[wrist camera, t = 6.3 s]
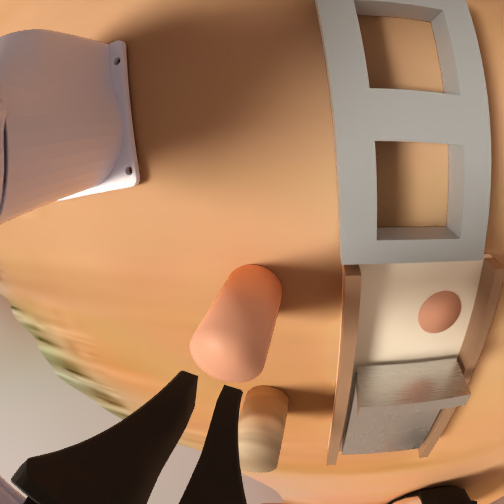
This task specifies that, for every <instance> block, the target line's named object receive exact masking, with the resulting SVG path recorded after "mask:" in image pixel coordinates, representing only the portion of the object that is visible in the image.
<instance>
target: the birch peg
mask: <svg viewBox="0 0 504 504" xmlns="http://www.w3.org/2000/svg"><path fill="white" fill-rule="evenodd" d="M288 406H289V398H288V396H287V395H286V394H285V393H284V392H283V391H282V390H280V389H278V388H275V387H271V386H257V387H254V388H252V389H250V390H249V391H248V393H247V395H246V398H245V401H244V405H243V408H242V411H241V414H240V417H239V420H238V446H239V459H240V469H243V470H246V471H250V472H259V473H262V472H270V471H273V470H274V469H276V467H277V464H278V459H279V454H280V449H281V444H282V439H283V433H284V428H285V423H286V417H287V411H288Z"/></svg>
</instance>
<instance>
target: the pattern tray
mask: <svg viewBox="0 0 504 504" xmlns="http://www.w3.org/2000/svg"><path fill="white" fill-rule="evenodd" d="M503 280H504V267H503V266H502V265H501V264H500V263H499V262H498V261H497V260H496V259H495V258H494V257H492V256H491V255H490V254H484V255H483V260H475V261H450V262H423V263H392V264H355V265H343V277H342V309H341V328H340V344H339V357H338V369H337V379H336V389H335V398H334V407H333V415H332V422H331V430H330V436H329V443H328V453H327V465H336V460H337V456H338V452H339V451H342V445H343V441H344V436H345V432H346V427H347V422H348V417H349V412H350V406H351V401H352V395H353V389H354V383H355V377H356V370H357V366H376V365H393V364H406V363H417V362H427V361H436V360H445V359H452V358H456V359H457V362H458V364H459V366H460V369H461V371H462V373H463V376H464V378H465V381H466V383H467V385H468V382H469V380H470V378H471V376H472V373H473V371H474V369H475V366H476V364H477V362H478V359H479V357H480V354H481V352H482V349H483V346H484V344H485V341H486V338H487V335H488V332H489V329H490V326H491V323H492V320H493V317H494V314H495V310H496V307H497V304H498V300H499V296H500V292H501V289H502V285H503ZM456 407H457V406H456ZM456 407H451V408H445V409H440V411H439V413H438V415H437V417H436V419H435V421H434V423H433V425H432V427H431V428H430V430H429V432H428V434H427V436H426V438H425V439H424V441H423V443H422V445H421V446H420V448H418V450H419V457H420V458H422V457H427V456H428V455H429V453H430V452H431V450H432V449H433V447H434V445H435V444H436V442H437V441H438V439H439V437H440V436H441V434H442V432H443V431H444V429H445V427H446V425H447V424H448V422H449V420H450V418H451V416H452V415H453V413H454V411H455V409H456Z"/></svg>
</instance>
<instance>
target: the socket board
mask: <svg viewBox="0 0 504 504" xmlns="http://www.w3.org/2000/svg"><path fill="white" fill-rule="evenodd" d="M314 1H315V6H316V11H317V16H318V21H319V27H320V32H321V38H322V44H323V50H324V56H325V63H326V70H327V77H328V85H329V93H330V101H331V110H332V120H333V130H334V142H335V154H336V169H337V187H338V212H339V252H340V259H341V265H355V264H392V263H423V262H450V261H475V260H483V255H484V248H485V242H486V234H487V226H488V217H489V206H490V191H491V131H490V116H489V105H488V96H487V89H486V82H485V75H484V69H483V64H482V59H481V54H480V49H479V45H478V40H477V36H476V32H475V29H474V25H473V21H472V18H471V15H470V11H469V8H468V5H467V2H466V0H314ZM357 15H371V16H386V17H397V18H407V19H415V20H422V21H428V22H431V25H432V29H433V33H434V38H435V42H436V47H437V52H438V57H439V63H440V68H441V75H442V81H443V89H444V93H437V92H428V91H417V90H403V89H383V88H370V87H369V79H368V72H367V66H366V59H365V53H364V47H363V42H362V37H361V32H360V27H359V22H358V17H357ZM375 141H404V142H427V143H442V144H448V154H449V185H448V209H447V223H446V227H382V228H377V175H376V152H375Z"/></svg>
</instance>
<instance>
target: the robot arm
mask: <svg viewBox="0 0 504 504" xmlns="http://www.w3.org/2000/svg"><path fill="white" fill-rule="evenodd" d="M119 59H120V63H119V64H117V62H118V60H119ZM130 167H131V168H132V174H131V173H130V172H129V168H130ZM139 182H140V173H139V167H138V160H137V154H136V147H135V139H134V132H133V123H132V115H131V105H130V95H129V84H128V71H127V54H126V43H125V42H124V41H121V40H117V41H115V42H112V43H110V44H106V43H102V42H99V41H95V40H91V39H87V38H83V37H79V36H74V35H70V34H65V33H60V32H55V31H50V30H42V29H32V30H23V31H18V32H14V33H10V34H7V35H4V36H2V37H0V224H2V223H4V222H6V221H9V220H11V219H13V218H15V217H18V216H20V215H22V214H25V213H27V212H29V211H32V210H34V209H37V208H39V207H42V206H44V205H47V204H49V203H52V202H54V201H62V200H67V199H72V198H76V197H81V196H86V195H91V194H96V193H101V192H107V191H112V190H118V189H124V188H129V187H134V186H136V185H138V184H139ZM197 381H198V376H196V375H193V374H191V373H188V372H185V371H180V372H179V373H178V374H177V375H176V376H175V377H174V379H173V380H172V381H171V382H170V383H168V384H167V385H166V386H165V387H164V388H163V389H162V390H161V391H160V392H159V393H158V394H156V395H155V396H154V397H153V398H152V399H150V400H149V401H148V402H147V403H146V404H144V405H143V406H142V407H140V408H139V409H138V410H136V411H135V412H134V413H132V414H131V415H129V416H128V417H127V418H125V419H124V420H122V421H121V422H119V423H117V424H116V425H114V426H113V427H111V428H109V429H107V430H105V431H104V432H102V433H100V434H98V435H96V436H94V437H92V438H90V439H88V440H85V441H83V442H81V443H79V444H76V445H73V446H70V447H68V448H64V449H62V450H59V451H55V452H52V453H48V454H44V455H40V456H35V457H31V458H28V459H27V460H26V461H25V462H24V463H23V464H22V465H21V466H20V467H19V469H18V470H17V472H16V473H15V474H14V476H13V477H12V478H11V481H12V483H13V484H14V485H16V486H17V487H18V488H19V489H20V490H21V491H22V492H23V493H25V494H26V495H27V496H28V497H27V498H25V497H23V496H22V495H21V494H20V493H19V492H18V491H16V490H15V489H14V488H13V487H12V486H10V484H8V483H7V482H6V481H5V480H4V479H3V478H2V477H1V476H0V504H147V501H148V499H149V497H150V494H151V492H152V490H153V487H154V485H155V483H156V481H157V478H158V476H159V474H160V472H161V470H162V468H163V467H164V465H165V463H166V461H167V460H168V458H169V456H170V455H171V453H172V451H173V449H174V448H175V446H176V444H177V443H178V441H179V439H180V437H181V435H182V434H183V432H184V430H185V428H186V426H187V424H188V421H189V419H190V417H191V414H192V412H193V409H194V407H195V399H196V390H197ZM242 394H243V392H242V391H241V390H240V389H236V388H233V387H230V386H227V385H224V387H223V389H222V391H221V393H220V395H219V398H218V400H217V403H216V406H215V409H214V413H213V416H212V420H211V423H210V427H209V430H208V434H207V437H206V441H205V444H204V447H203V450H202V453H201V456H200V459H199V461H198V463H197V465H196V468H195V470H194V472H193V474H192V477H191V479H190V481H189V483H188V486H187V487H186V490H185V492H184V494H183V496H182V498H181V500H180V502H179V504H247V503H246V498H245V493H244V489H243V483H242V476H241V469H240V459H239V446H238V420H239V408H240V402H241V397H242Z"/></svg>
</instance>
